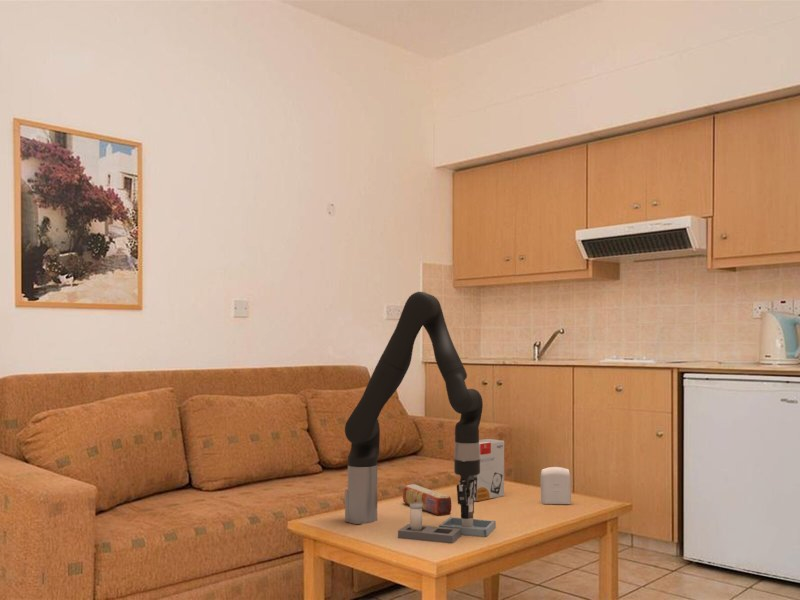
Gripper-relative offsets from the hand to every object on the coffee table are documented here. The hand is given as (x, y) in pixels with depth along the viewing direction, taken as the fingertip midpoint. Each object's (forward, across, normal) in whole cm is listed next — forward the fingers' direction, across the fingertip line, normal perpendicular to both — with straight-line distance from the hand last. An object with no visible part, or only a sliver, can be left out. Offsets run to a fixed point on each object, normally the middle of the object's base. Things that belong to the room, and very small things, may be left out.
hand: (467, 516), depth 217 cm
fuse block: (+5, +11, -8) cm, 14 cm away
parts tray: (+5, 0, 0) cm, 5 cm away
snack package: (+5, -24, -21) cm, 32 cm away
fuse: (+4, +11, -12) cm, 17 cm away
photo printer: (+5, -47, +18) cm, 51 cm away
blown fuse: (+4, 0, 0) cm, 4 cm away
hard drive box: (+5, -48, -8) cm, 49 cm away
